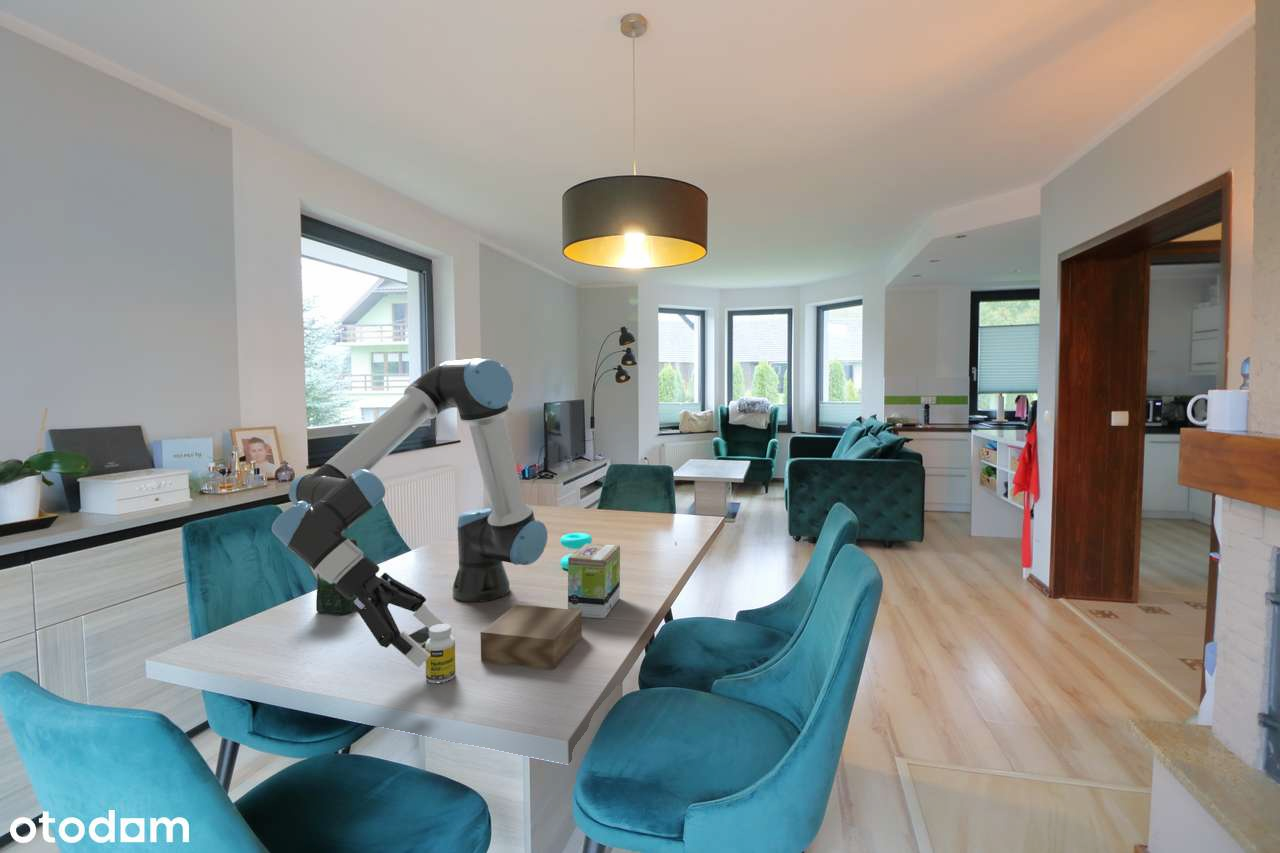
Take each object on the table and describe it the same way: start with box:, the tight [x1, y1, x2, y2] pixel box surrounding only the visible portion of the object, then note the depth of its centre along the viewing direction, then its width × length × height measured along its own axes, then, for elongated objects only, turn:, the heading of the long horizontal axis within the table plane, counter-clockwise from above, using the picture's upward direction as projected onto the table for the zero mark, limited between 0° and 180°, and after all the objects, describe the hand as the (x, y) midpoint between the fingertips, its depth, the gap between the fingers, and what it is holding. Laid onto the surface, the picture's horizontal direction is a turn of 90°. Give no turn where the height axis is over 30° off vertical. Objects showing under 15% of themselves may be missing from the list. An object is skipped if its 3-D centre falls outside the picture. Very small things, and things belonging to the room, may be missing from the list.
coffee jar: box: [315, 537, 359, 616], centre depth 145 cm, size 10×8×19 cm
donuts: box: [560, 532, 593, 570], centre depth 181 cm, size 10×10×10 cm
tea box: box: [567, 543, 621, 619], centre depth 146 cm, size 15×10×15 cm
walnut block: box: [480, 603, 583, 670], centre depth 122 cm, size 16×16×6 cm
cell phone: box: [408, 626, 430, 648], centre depth 128 cm, size 6×11×1 cm, turn 158°
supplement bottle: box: [424, 623, 456, 684], centre depth 109 cm, size 5×5×10 cm
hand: (434, 645), depth 109 cm, fingers open, 13 cm apart
